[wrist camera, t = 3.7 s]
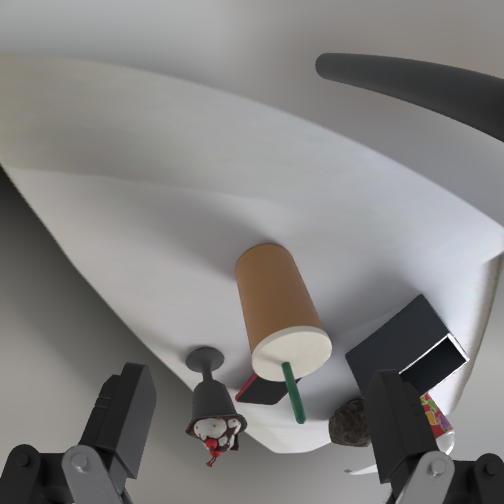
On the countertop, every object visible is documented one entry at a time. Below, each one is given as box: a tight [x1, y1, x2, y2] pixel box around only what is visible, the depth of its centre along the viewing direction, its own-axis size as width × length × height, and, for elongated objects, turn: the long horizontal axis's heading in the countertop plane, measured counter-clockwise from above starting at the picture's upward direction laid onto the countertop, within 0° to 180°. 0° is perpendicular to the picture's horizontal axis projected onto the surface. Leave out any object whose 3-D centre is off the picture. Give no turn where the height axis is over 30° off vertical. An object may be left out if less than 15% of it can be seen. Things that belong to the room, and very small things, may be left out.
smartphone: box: [235, 373, 302, 405], centre depth 42 cm, size 7×1×15 cm
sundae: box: [186, 348, 247, 467], centre depth 33 cm, size 7×7×15 cm
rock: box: [328, 399, 372, 447], centre depth 51 cm, size 10×11×10 cm
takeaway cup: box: [235, 244, 332, 424], centre depth 26 cm, size 6×6×17 cm
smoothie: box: [420, 393, 455, 455], centre depth 50 cm, size 8×8×20 cm
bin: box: [345, 294, 470, 398], centre depth 42 cm, size 14×14×8 cm
